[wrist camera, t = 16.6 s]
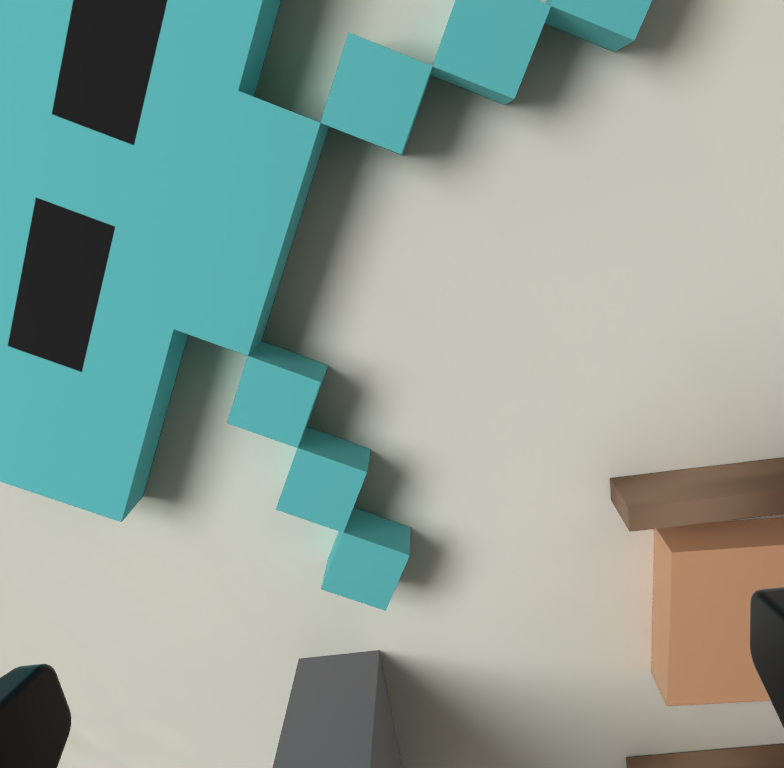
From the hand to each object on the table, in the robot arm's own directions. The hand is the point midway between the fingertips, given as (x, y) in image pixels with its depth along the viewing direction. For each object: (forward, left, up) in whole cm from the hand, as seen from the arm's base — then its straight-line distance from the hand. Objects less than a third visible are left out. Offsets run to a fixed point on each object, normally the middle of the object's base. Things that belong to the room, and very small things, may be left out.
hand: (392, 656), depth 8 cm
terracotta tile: (-10, +10, -14) cm, 20 cm away
